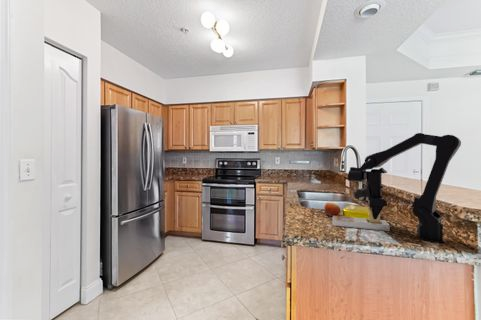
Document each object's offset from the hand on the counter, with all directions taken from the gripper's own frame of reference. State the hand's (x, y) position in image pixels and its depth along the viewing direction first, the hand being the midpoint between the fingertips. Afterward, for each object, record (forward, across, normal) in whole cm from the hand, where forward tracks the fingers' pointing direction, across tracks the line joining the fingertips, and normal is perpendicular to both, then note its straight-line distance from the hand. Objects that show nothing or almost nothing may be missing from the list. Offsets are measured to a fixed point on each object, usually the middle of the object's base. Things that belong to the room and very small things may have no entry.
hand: (373, 218), depth 98 cm
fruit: (+4, -15, -17) cm, 23 cm away
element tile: (+5, -19, -3) cm, 20 cm away
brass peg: (+4, 0, 0) cm, 4 cm away
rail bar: (+4, 0, -6) cm, 7 cm away
